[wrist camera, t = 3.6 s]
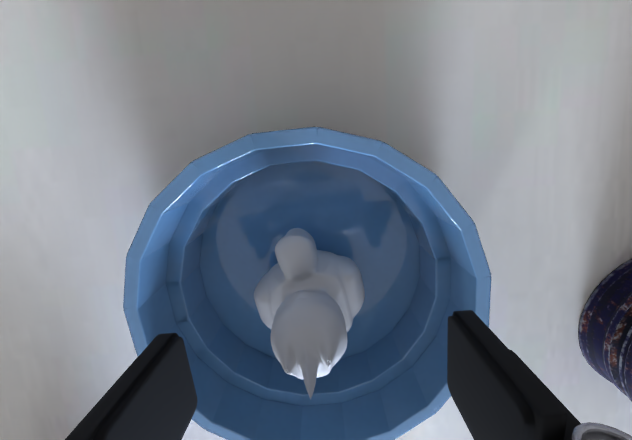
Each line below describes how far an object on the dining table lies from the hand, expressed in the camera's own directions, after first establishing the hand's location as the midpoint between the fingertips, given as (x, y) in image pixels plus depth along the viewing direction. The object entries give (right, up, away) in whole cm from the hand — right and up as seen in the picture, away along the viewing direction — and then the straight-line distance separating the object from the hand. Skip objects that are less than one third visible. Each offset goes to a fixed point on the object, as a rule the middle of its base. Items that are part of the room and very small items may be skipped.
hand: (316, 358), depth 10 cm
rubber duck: (0, +2, +7) cm, 7 cm away
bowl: (0, +2, +7) cm, 7 cm away
